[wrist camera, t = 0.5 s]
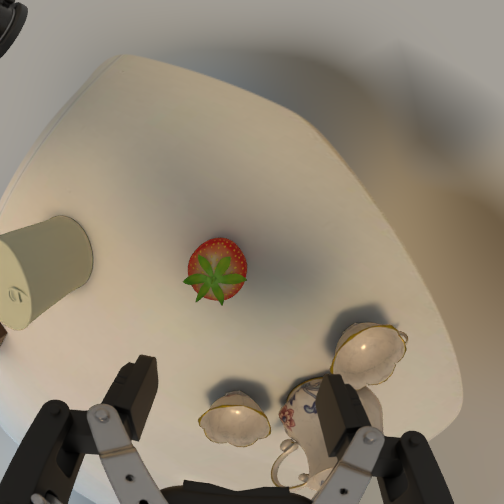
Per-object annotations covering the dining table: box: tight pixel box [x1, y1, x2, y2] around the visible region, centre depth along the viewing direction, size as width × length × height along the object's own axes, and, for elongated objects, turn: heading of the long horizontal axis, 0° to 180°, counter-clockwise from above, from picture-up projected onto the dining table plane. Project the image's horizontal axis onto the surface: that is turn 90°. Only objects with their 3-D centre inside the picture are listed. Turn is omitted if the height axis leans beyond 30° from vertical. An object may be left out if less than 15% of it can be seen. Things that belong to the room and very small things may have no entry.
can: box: [0, 216, 93, 330], centre depth 22 cm, size 9×9×12 cm
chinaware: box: [198, 322, 408, 491], centre depth 25 cm, size 28×17×17 cm, turn 130°
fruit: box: [183, 238, 247, 305], centre depth 24 cm, size 5×5×8 cm
